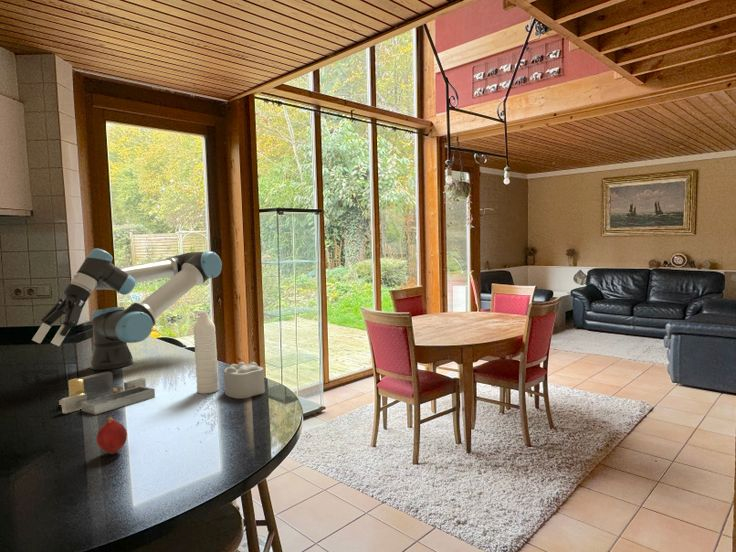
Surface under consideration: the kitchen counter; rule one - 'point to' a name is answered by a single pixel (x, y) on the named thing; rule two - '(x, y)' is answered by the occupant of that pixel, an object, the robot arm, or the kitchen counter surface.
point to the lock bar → (92, 385)
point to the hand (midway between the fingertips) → (45, 343)
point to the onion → (111, 436)
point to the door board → (109, 398)
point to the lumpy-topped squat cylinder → (244, 380)
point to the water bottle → (205, 354)
